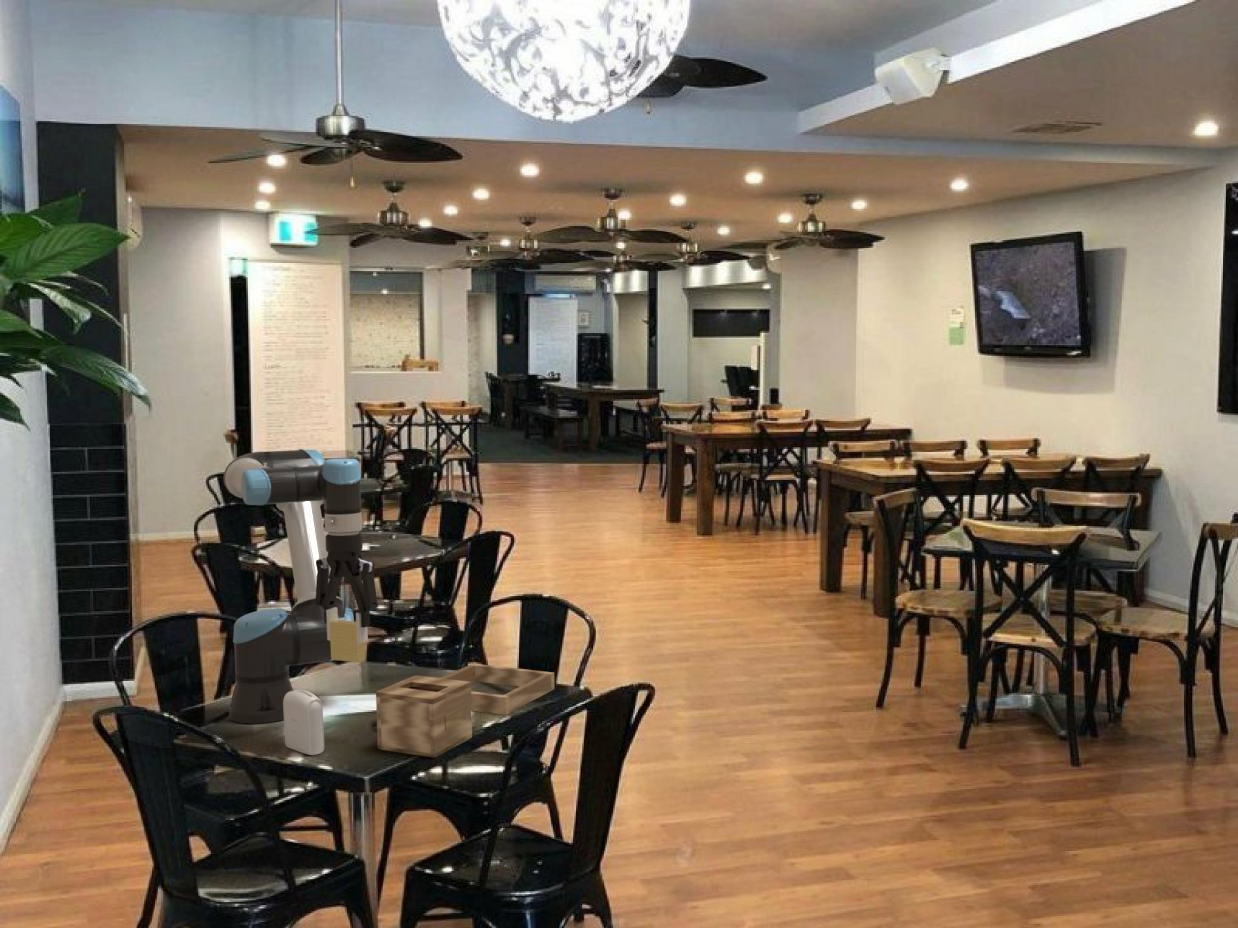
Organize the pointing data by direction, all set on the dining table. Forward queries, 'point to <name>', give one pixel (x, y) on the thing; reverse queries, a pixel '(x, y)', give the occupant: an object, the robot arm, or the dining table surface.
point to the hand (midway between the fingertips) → (347, 640)
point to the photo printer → (303, 722)
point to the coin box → (424, 715)
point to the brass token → (345, 642)
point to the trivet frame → (526, 680)
